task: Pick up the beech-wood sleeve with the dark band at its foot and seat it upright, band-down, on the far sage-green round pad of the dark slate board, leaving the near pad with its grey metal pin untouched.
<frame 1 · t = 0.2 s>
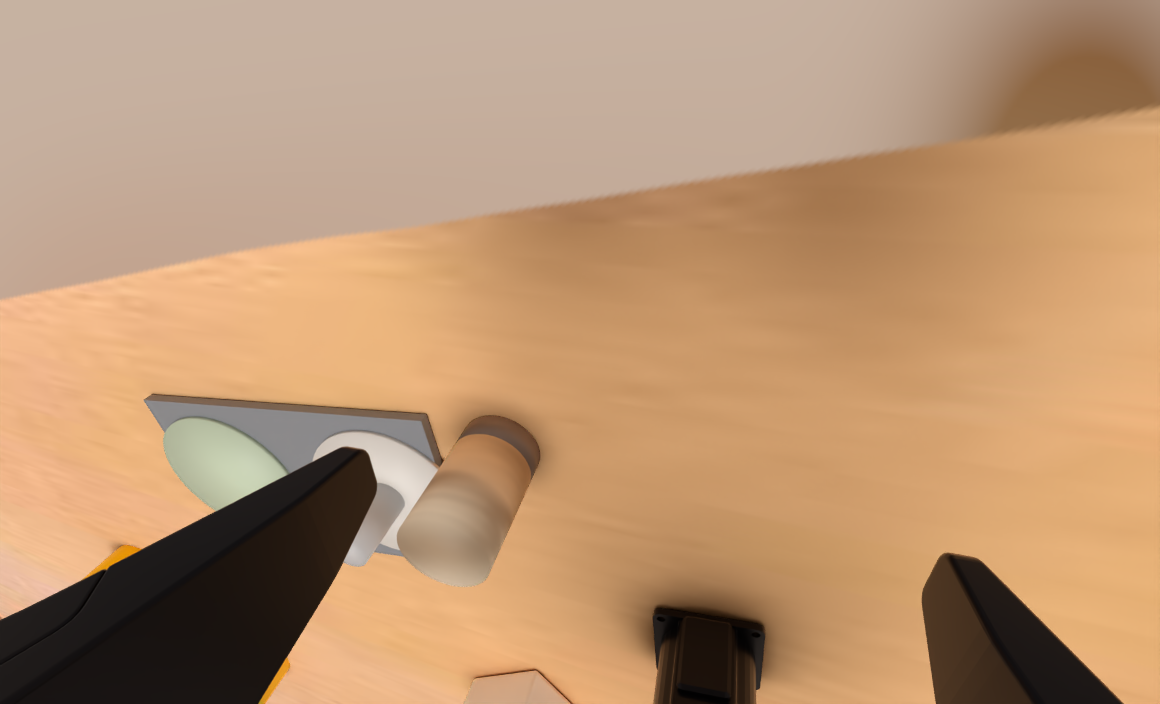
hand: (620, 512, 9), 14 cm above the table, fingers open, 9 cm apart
medicine bottle: (531, 695, 44), on the table
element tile: (213, 605, 51), on the table
sleeve: (501, 447, 29), on the table
board: (314, 477, 35), on the table
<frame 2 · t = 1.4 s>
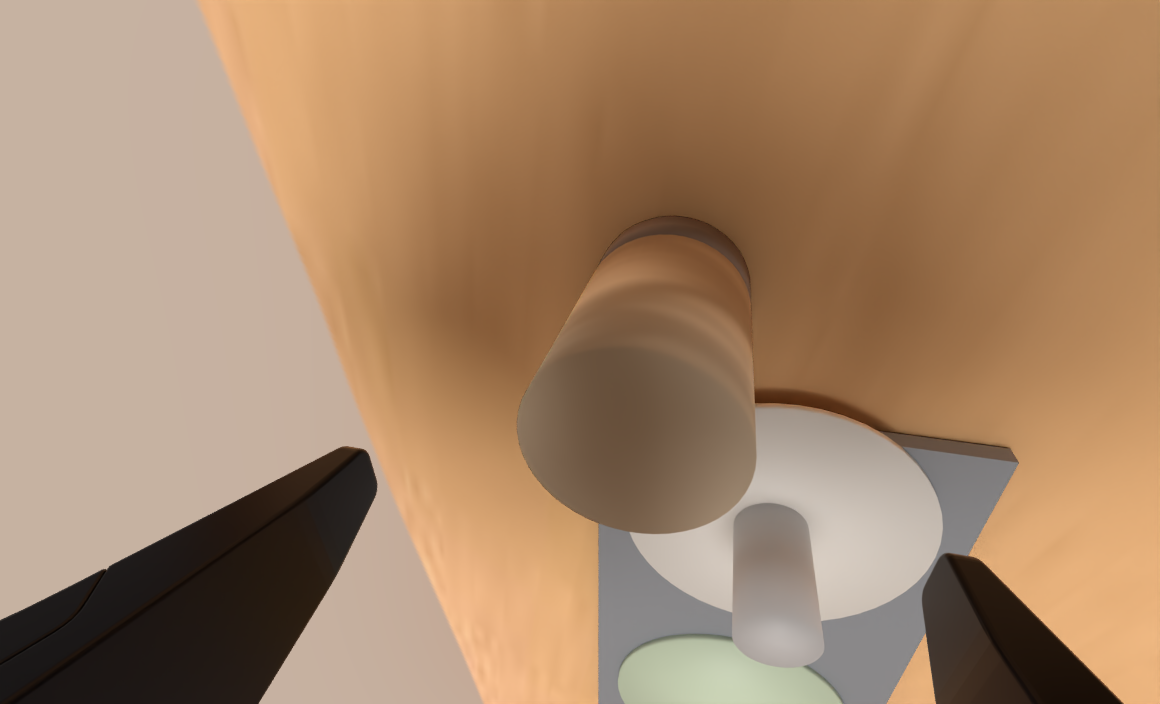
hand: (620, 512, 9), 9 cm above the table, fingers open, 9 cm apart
sleeve: (671, 290, 16), on the table
board: (744, 611, 22), on the table
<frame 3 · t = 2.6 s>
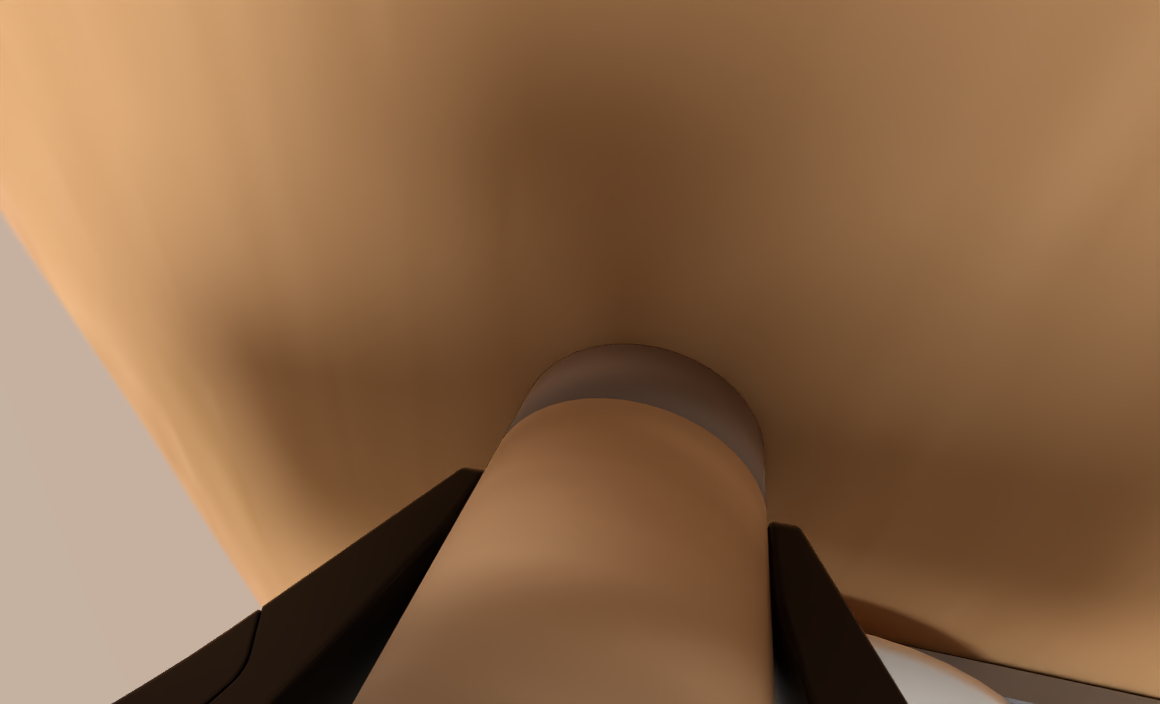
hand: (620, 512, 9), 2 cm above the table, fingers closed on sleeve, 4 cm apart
sleeve: (636, 448, 10), on the table, touching gripper
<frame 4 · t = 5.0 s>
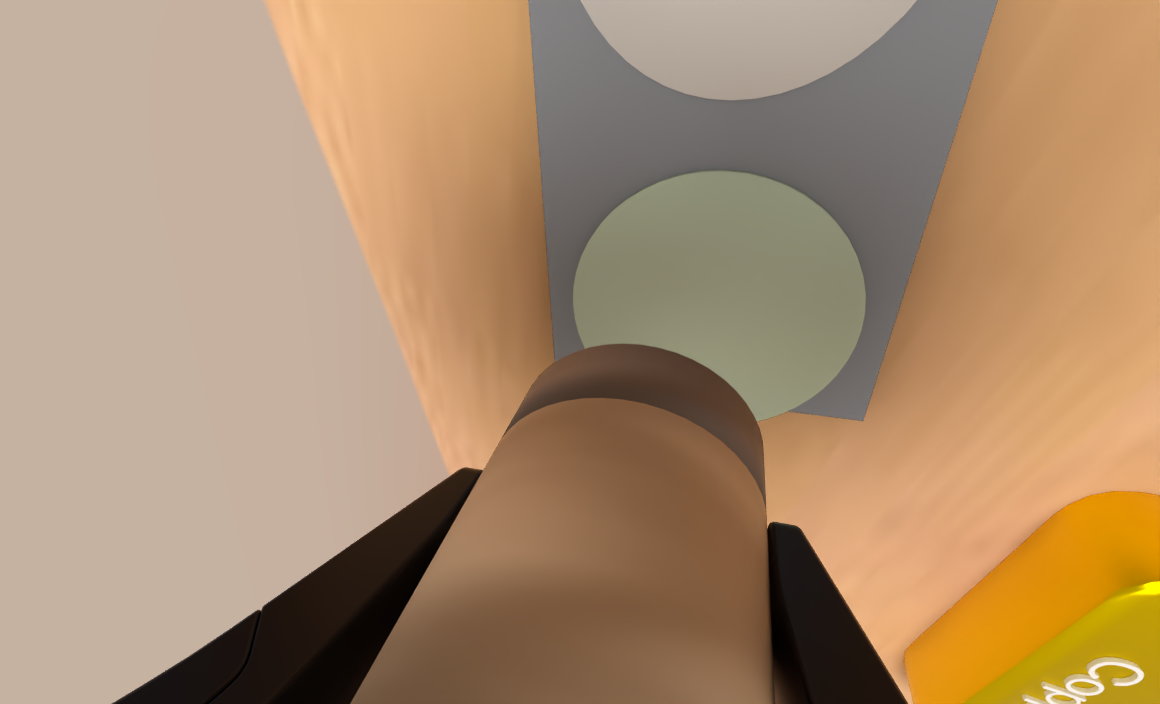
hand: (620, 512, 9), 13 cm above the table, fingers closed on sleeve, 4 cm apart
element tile: (1143, 633, 24), on the table
sleeve: (635, 448, 10), point 11 cm above the table, touching gripper
board: (728, 131, 17), on the table
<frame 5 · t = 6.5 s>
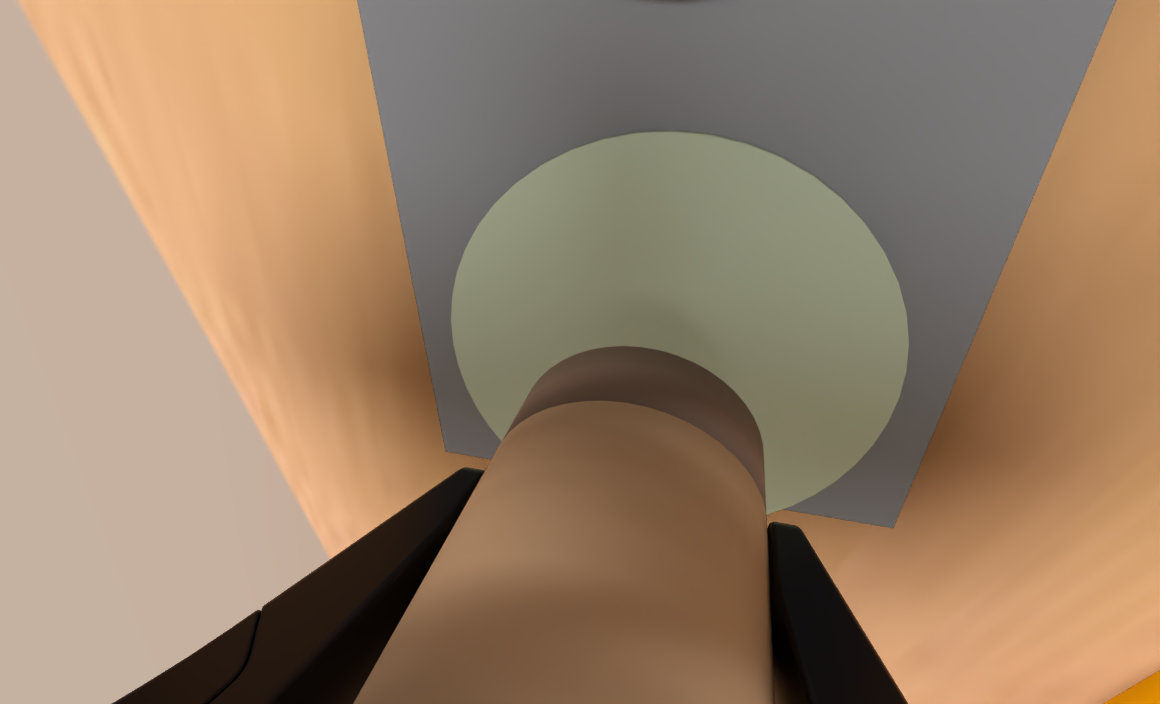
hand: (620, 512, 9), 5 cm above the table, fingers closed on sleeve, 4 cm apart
sleeve: (635, 450, 10), point 4 cm above the table, touching gripper
board: (681, 65, 10), on the table
when the fingers open (3 cm above the table, at t = 7.7 s): sleeve stays where it is, resting on board.
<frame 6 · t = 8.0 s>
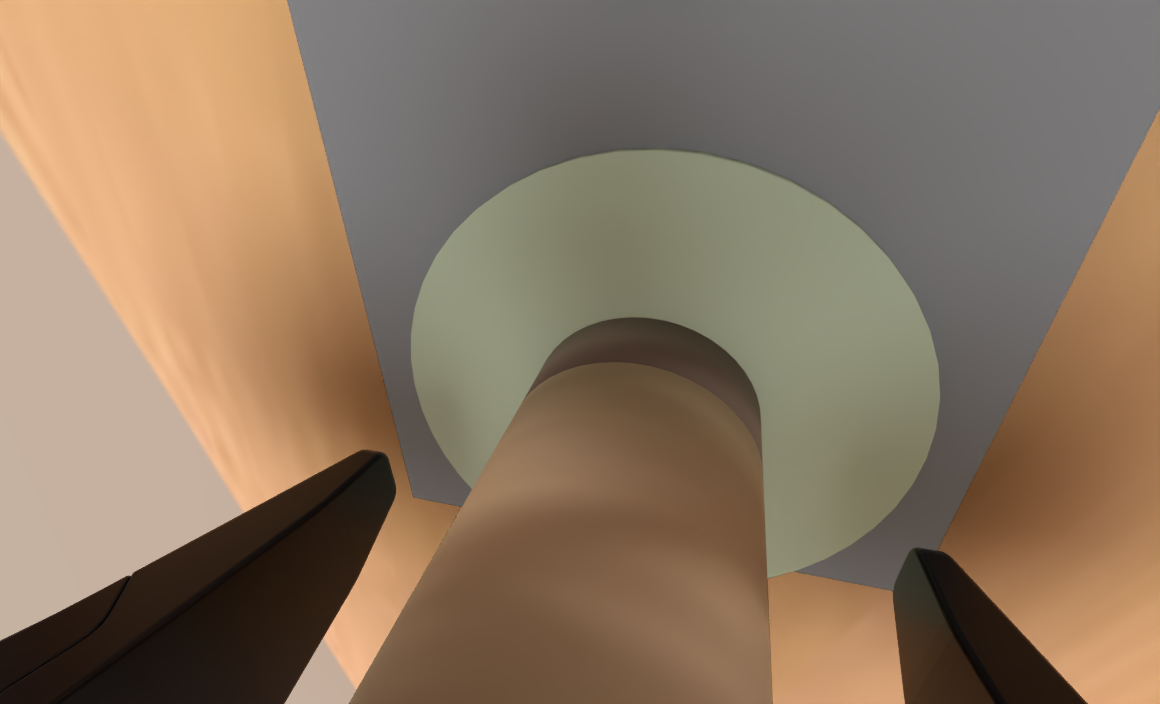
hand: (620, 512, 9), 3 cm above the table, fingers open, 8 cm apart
sleeve: (642, 416, 11), point 1 cm above the table, touching board
board: (670, 70, 8), on the table
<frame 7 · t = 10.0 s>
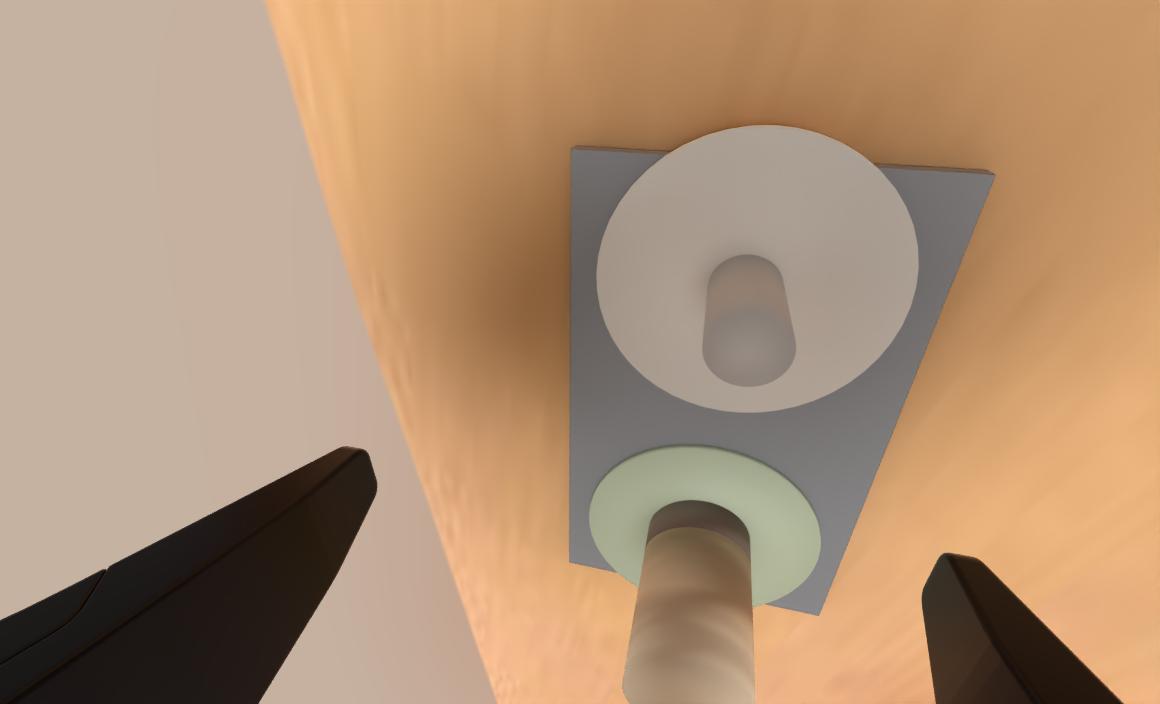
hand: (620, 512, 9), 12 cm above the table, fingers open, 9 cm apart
sleeve: (698, 536, 24), point 1 cm above the table, touching board
board: (718, 417, 22), on the table
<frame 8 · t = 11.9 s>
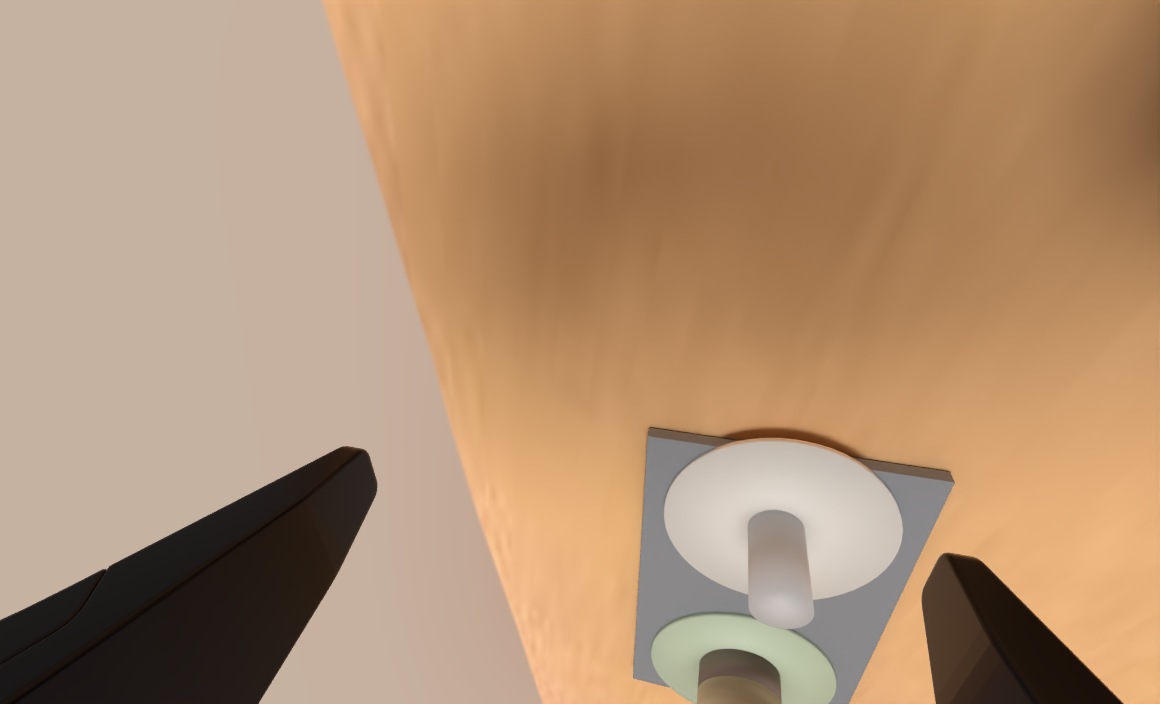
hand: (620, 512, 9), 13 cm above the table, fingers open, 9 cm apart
sleeve: (738, 672, 30), point 1 cm above the table, touching board
board: (755, 593, 28), on the table
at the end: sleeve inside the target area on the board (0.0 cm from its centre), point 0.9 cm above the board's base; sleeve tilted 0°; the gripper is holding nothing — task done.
